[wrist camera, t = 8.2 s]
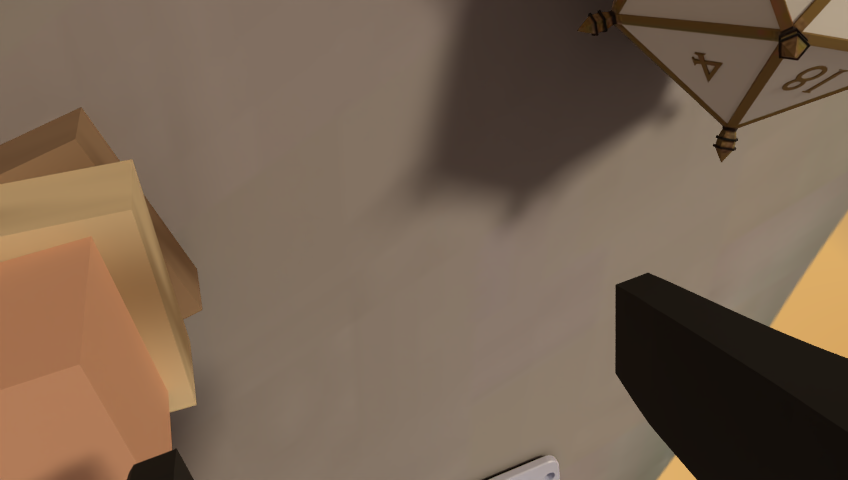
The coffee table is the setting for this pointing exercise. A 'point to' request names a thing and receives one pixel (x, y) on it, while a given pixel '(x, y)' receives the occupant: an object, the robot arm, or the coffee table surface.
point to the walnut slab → (82, 148)
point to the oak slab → (107, 253)
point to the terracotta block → (74, 372)
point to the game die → (739, 52)
